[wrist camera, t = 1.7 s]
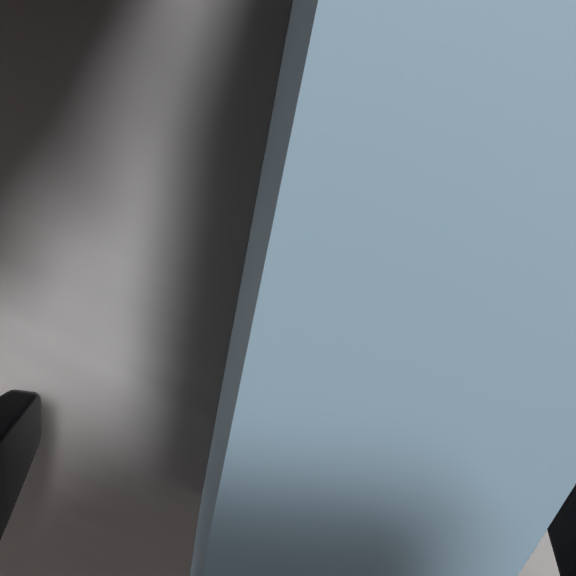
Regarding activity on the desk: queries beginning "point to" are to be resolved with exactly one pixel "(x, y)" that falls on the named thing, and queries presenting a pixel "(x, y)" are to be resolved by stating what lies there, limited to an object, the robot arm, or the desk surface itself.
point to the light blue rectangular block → (404, 299)
